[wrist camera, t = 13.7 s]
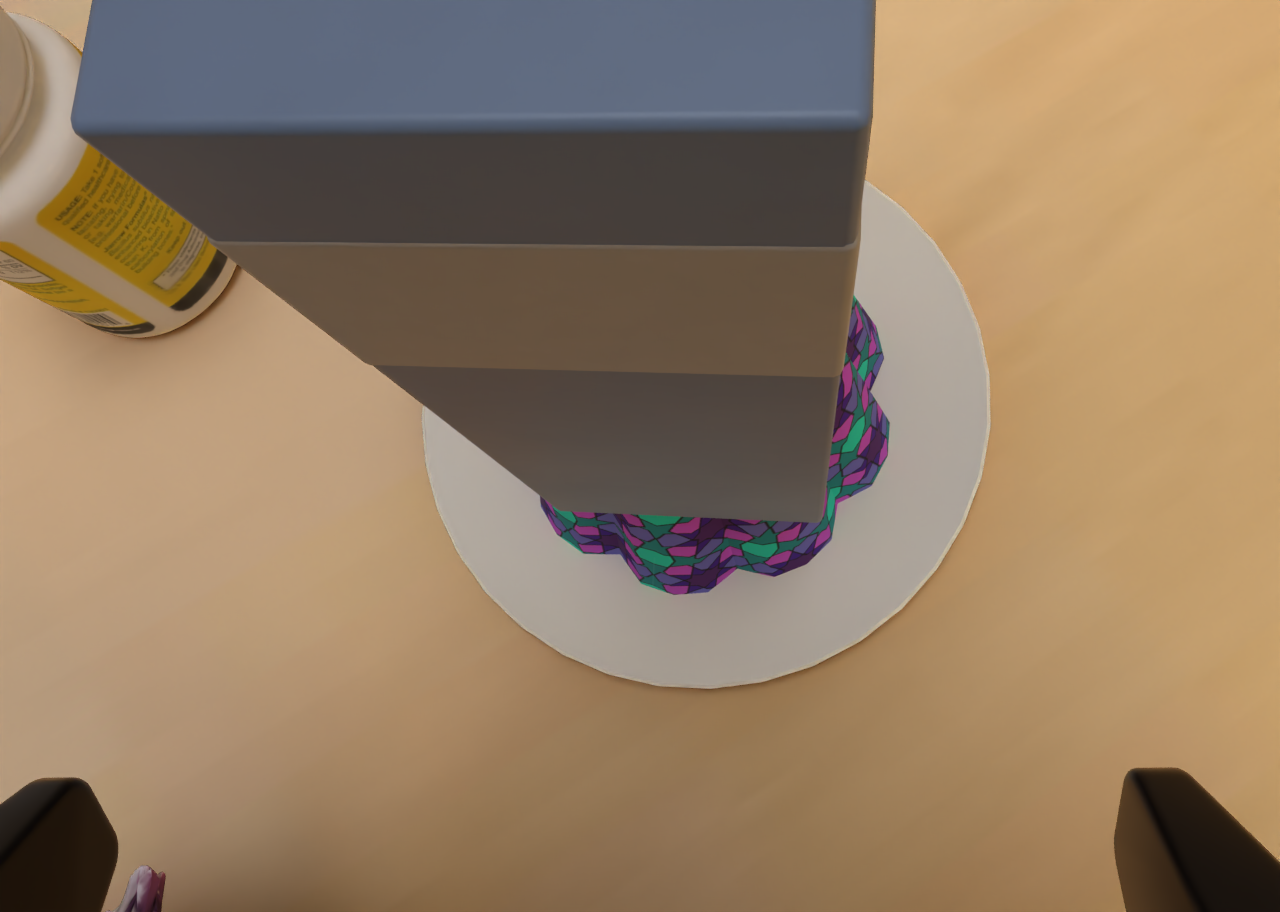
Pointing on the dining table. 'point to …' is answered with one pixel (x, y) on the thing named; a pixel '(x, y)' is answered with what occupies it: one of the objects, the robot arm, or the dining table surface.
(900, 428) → the pudding
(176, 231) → the supplement bottle
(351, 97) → the block
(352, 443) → the dining table surface
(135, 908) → the flower
